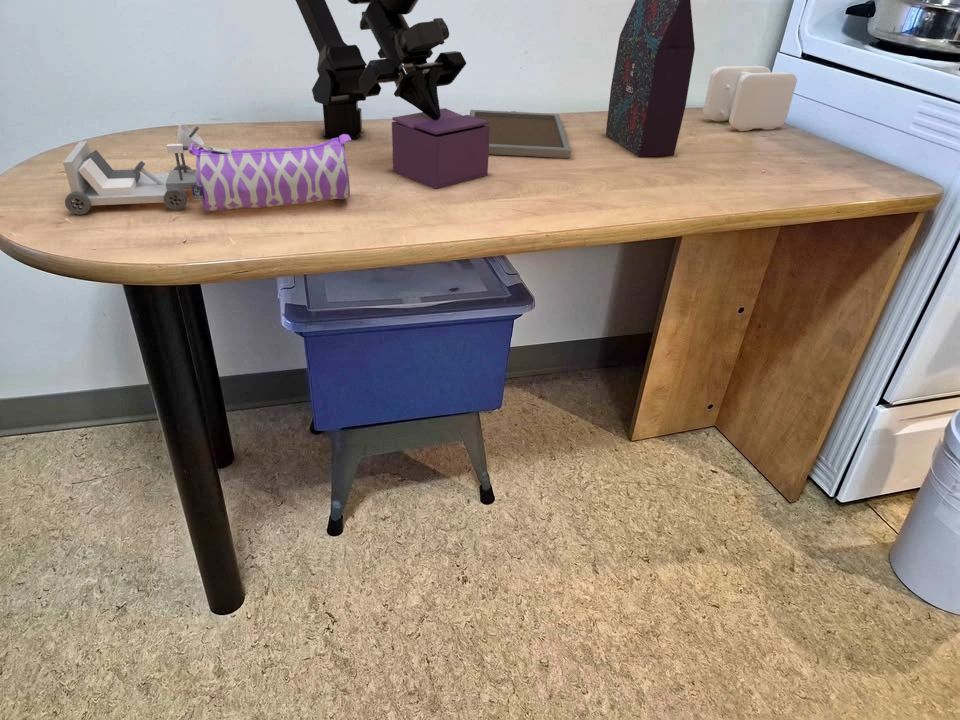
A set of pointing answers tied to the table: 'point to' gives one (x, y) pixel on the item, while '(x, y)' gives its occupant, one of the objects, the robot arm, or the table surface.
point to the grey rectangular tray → (525, 133)
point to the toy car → (128, 178)
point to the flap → (423, 118)
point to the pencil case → (270, 175)
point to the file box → (442, 150)
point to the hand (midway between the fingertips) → (437, 118)
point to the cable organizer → (749, 96)
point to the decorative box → (651, 77)
